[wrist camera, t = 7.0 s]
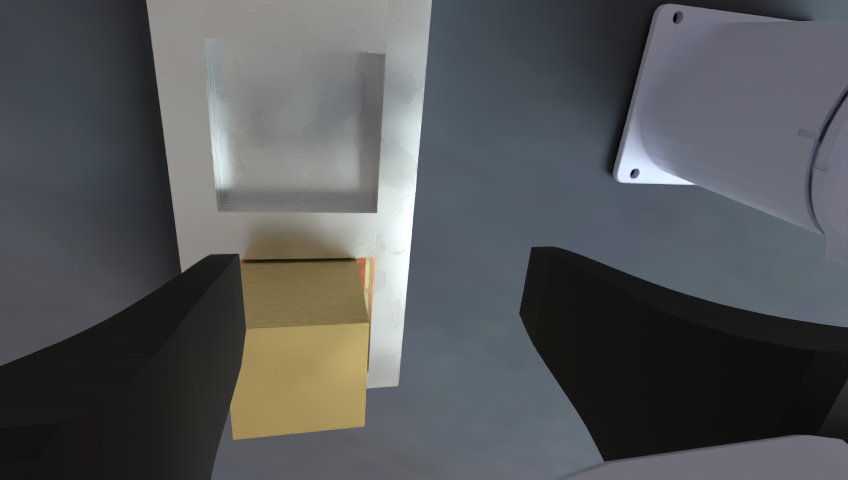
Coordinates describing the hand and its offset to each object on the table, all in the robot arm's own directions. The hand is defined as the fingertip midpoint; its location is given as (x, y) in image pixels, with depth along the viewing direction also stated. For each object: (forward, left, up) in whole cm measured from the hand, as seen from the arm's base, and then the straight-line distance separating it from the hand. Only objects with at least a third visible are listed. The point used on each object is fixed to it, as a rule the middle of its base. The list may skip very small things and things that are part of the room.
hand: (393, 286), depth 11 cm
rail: (+2, -2, -10) cm, 11 cm away
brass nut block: (+2, +5, -9) cm, 11 cm away
